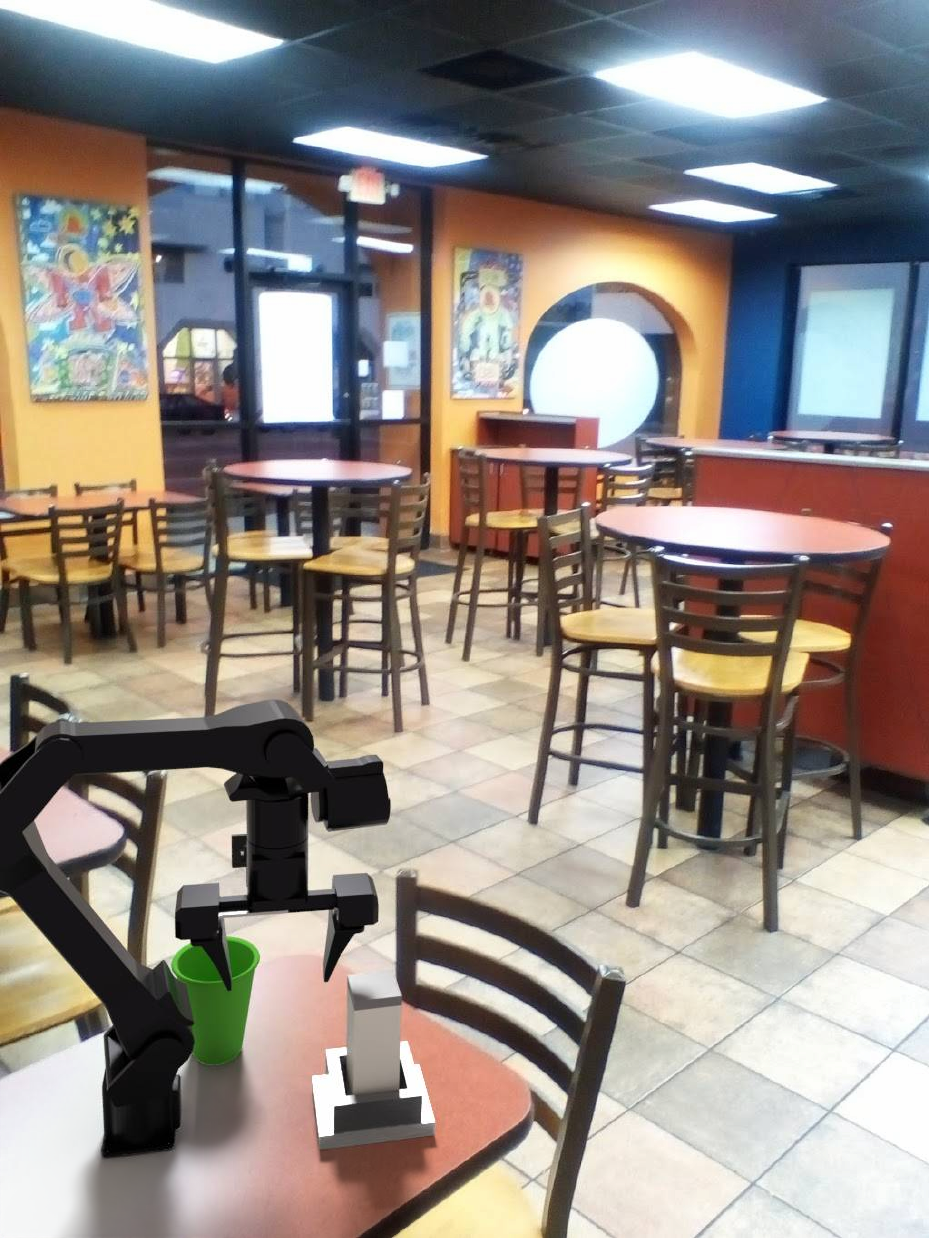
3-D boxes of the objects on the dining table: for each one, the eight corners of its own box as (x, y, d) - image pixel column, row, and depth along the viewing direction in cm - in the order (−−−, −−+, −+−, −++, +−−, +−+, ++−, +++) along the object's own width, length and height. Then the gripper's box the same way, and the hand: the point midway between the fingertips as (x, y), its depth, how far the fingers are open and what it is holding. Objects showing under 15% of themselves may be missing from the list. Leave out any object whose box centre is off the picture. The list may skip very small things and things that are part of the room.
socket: (319, 1149, 95) (320, 1108, 94) (312, 1089, 103) (312, 1050, 102) (434, 1135, 97) (436, 1094, 96) (418, 1076, 106) (419, 1038, 105)
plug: (352, 1117, 97) (354, 1001, 95) (345, 1086, 102) (347, 974, 99) (398, 1110, 98) (401, 995, 96) (389, 1080, 103) (392, 969, 100)
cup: (158, 1046, 109) (155, 954, 106) (233, 1014, 115) (232, 926, 112) (199, 1090, 102) (197, 993, 100) (276, 1054, 108) (276, 961, 106)
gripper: (365, 797, 105) (363, 933, 108) (178, 806, 101) (182, 948, 104) (380, 843, 94) (377, 993, 98) (172, 856, 90) (176, 1012, 93)
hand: (278, 984), depth 98 cm, fingers open, 9 cm apart
